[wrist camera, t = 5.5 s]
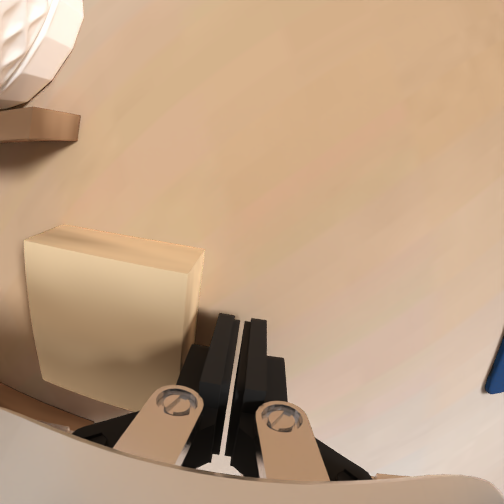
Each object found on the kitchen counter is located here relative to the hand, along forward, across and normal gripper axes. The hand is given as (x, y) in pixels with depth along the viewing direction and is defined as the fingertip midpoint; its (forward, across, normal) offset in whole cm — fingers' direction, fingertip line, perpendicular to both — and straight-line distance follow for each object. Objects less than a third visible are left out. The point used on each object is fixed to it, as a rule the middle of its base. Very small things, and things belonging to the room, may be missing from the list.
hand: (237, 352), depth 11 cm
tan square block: (+2, +5, 0) cm, 5 cm away
